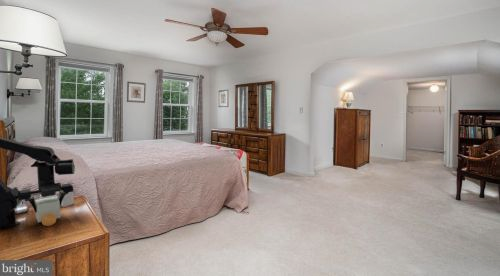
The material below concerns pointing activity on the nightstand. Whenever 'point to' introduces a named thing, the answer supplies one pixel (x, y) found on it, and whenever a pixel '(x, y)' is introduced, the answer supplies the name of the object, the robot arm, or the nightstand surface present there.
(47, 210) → the white block
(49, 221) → the ball
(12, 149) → the robot arm
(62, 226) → the nightstand surface
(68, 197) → the eye dropper bottle
